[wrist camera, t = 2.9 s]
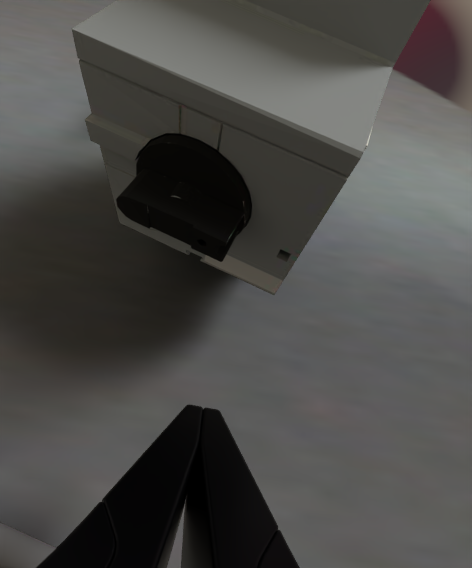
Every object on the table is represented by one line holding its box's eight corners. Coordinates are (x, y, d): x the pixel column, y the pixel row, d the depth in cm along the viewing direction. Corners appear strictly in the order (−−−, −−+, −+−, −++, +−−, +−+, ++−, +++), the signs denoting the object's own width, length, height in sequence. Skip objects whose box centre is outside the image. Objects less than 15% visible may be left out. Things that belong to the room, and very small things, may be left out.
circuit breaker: (112, 291, 16) (-134, -319, 3) (224, 138, 23) (286, -256, 10) (242, 353, 16) (530, -64, 3) (317, 180, 23) (504, -177, 10)
